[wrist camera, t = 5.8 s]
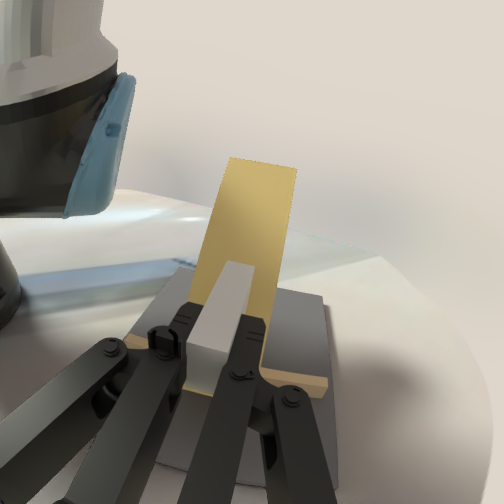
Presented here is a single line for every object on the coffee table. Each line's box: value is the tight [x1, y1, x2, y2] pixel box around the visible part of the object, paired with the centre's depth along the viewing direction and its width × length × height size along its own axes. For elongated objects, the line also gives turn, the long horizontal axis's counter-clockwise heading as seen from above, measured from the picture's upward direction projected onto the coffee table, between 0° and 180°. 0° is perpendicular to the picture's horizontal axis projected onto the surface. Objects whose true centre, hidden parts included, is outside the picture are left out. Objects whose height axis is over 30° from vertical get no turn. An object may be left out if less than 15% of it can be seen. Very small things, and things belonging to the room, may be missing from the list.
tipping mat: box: [95, 267, 338, 491], centre depth 24 cm, size 24×18×2 cm
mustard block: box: [182, 158, 297, 397], centre depth 20 cm, size 5×5×16 cm
